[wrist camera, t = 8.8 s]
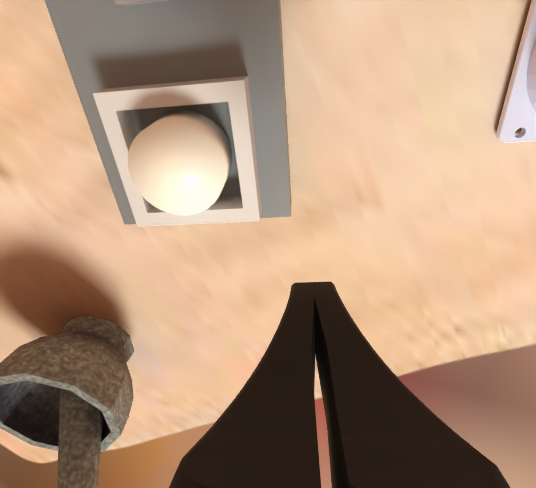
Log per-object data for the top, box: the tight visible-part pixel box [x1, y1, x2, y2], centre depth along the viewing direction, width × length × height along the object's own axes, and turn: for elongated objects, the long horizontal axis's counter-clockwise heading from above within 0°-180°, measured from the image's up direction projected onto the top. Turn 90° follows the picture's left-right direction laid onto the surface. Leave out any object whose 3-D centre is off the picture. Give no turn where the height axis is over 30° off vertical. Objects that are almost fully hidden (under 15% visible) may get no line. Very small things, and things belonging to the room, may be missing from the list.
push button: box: [128, 110, 232, 215], centre depth 16 cm, size 4×4×2 cm
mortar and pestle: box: [0, 315, 134, 488], centre depth 25 cm, size 11×9×12 cm
